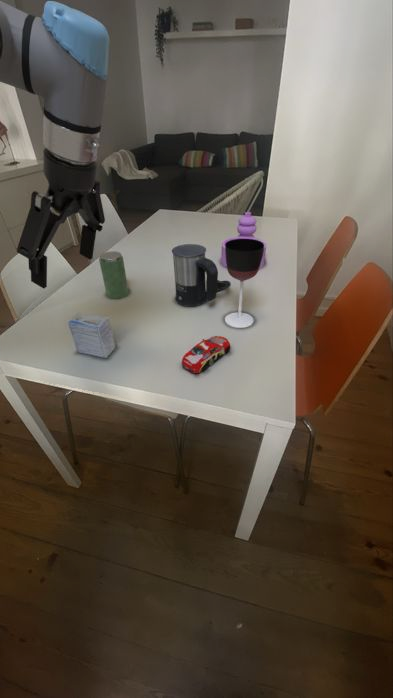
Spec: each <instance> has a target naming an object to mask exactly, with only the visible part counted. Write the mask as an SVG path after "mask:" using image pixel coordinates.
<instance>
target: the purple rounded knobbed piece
mask: <svg viewBox="0 0 393 698" xmlns="http://www.w3.org/2000/svg"><path fill="white" fill-rule="evenodd" d="M237 223H238V225H237V227H236V231H237V233H238V235H237V236H235V237H230V238H226V239H224V240H223V241H222V242H221V251H220V252H221V253H220V254H221V258H220V263H221V265H222V266H223V267H225V268H226V269H227V264H226V254H225V244H226V243H227V242H228V241H231V240H235V239H253V240H258V241H260V242H262V243H263V244H264V251H263V257H262V261H261V264H260V267H259V269H261V268H262V267H264V265H265V261H266V253H267V252H266V251H267V243H266V242H265V241H264V240H262V239H260V238H256V237H255V235H254V234H256V232H257V225H256V224H257V218H256V217H254V216H253V215H252V212H251V211H245V212H244V215H242V216H240V217H239V218H238V220H237Z"/></svg>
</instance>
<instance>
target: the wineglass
mask: <svg viewBox="0 0 393 698" xmlns="http://www.w3.org/2000/svg"><path fill="white" fill-rule="evenodd" d="M263 251H264V244H263V243H262V242H260V241H258V240H253V239H235V240H231V241H228V242H227V243H226V244H225V254H226V264H227V268H226V269H227V273H228V274H229V276H231V278H233V279H235V280H237V281H239V283H240V284H239V295H238V297H239V298H238V310H237V311H238V312H237V311H235V312H231V313H228V314H227V315H225V316H224V321H225V323H226V324H227V325H228V326H230V327H231V328H237V329H242V328H248V327H250V326H252V325H253V324H254V318H253V317H252V316H251V315H250V314H248V313H246V312H242V308H243V307H242V306H243V293H244V292H243V291H244V282H245V281H247V280H250V279H252V278H254V277H255V276H256V275H257V274H258V272H259V270H260V268H259V267H260V264H261V261H262V257H263Z"/></svg>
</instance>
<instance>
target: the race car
mask: <svg viewBox="0 0 393 698" xmlns="http://www.w3.org/2000/svg"><path fill="white" fill-rule="evenodd" d="M230 350H231V343H230V341H229V340H228V338H227V337H224V336H220V335H213V336H211V337H209V338H206V339H205V338H203V339H202V340H201V341H200V342H199V343H197V344H196V345H195V346H193V347H192V348H191V349H190V350H188V351H187V352H186V353H185V354H184V355H183V357H182V359H181V366H182V368H184V369H185V370H187V371H188V372H190V373H193V374H198V373H202V372H205V371H206V370H208V367H210V366H211V365H213V364H214V363H216V362H217V361H218V360H220V358H222V357H223V356H225V355H227V354H228V353H229V352H230Z"/></svg>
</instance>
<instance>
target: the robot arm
mask: <svg viewBox="0 0 393 698" xmlns="http://www.w3.org/2000/svg"><path fill="white" fill-rule="evenodd" d="M110 41H111V39H110V36H109V33H108V30H107V28H106V27H105V26H104V24H103V23H101V22H100V21H99V20H97V19H96V18H94V17H92V16H90V15H88V14H87V13H84V12H82V11H81V10H78V9H75V8H72V7H70V6H68V5H66V4H63V3H61V2H57V1H54V0H48V1H46V2H45V4H44V6H43V13H42V15H41V17H39V16H35V15H32V14H29V13H26V12H25V11H23V10H20V9H19V8H16V7H14V6H12V5H10V4H8V3H6V2H3V1H2V0H0V83H2V84H5V85H9V86H11V87H14V88H17V89H20V90H22V91H25V92H28V93H29V94H32V95H35V96H39V97H41V98H42V99H43V120H42V121H43V122H42V124H43V125H42V128H43V129H42V142H43V143H42V144H43V146H44V147H45V148H43V151H42V152H43V158H42V160H43V164H42V165H43V167H42V168H43V175H44V176H45V179H46V180H47V183H48V187H47V190H46V192H45V193H40V192H38V191H37V190H34V191H32V193H31V197H30V207H29V211H28V214H27V216H26V219H25V223H24V226H23V229H22V232H21V236H20V238H19V242H18V244H17V248H16V252H17V253H18V254H19V255H21V256H23V257H24V258H26V259H28V270H29V271H30V282H31V283H33V284H35V285H37V286H38V287H40V288H42V289H46V288H47V287H48V256H47V255H45V254H46V251H47V250H48V248H49V246H50V244H51V242H52V240H53V238H54V237H55V235H56V233H57V231H58V229H59V227H60V225H63V224H65V222H66V221H67V218H69V217H71V216H72V215H73V214H75V215H76V214H79V216H80V218H81V219H82V220H83V222H84V224H82V225H81V232H80V234H81V235H80V242H79V244H80V245H79V255H81V256H82V257H84V258H85V259H87V260H90V261H91V260H92V259H94V251H95V242H96V236H97V231H98V232H102V230H103V228H104V227H103V224H105V222H106V218H105V211H104V207H103V203H102V197H101V182H100V181H99V180H97V179H96V178H97V177H96V176H97V167H98V164H97V162H96V161H97V160H98V155H99V149H100V136H101V129H102V122H103V115H104V106H105V99H106V91H107V83H108V77H109V76H108V75H109V73H108V71H109V56H110V43H111V42H110ZM52 210H53V211H54V212H56V213H54V212H52ZM57 214H58V215H57Z"/></svg>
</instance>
